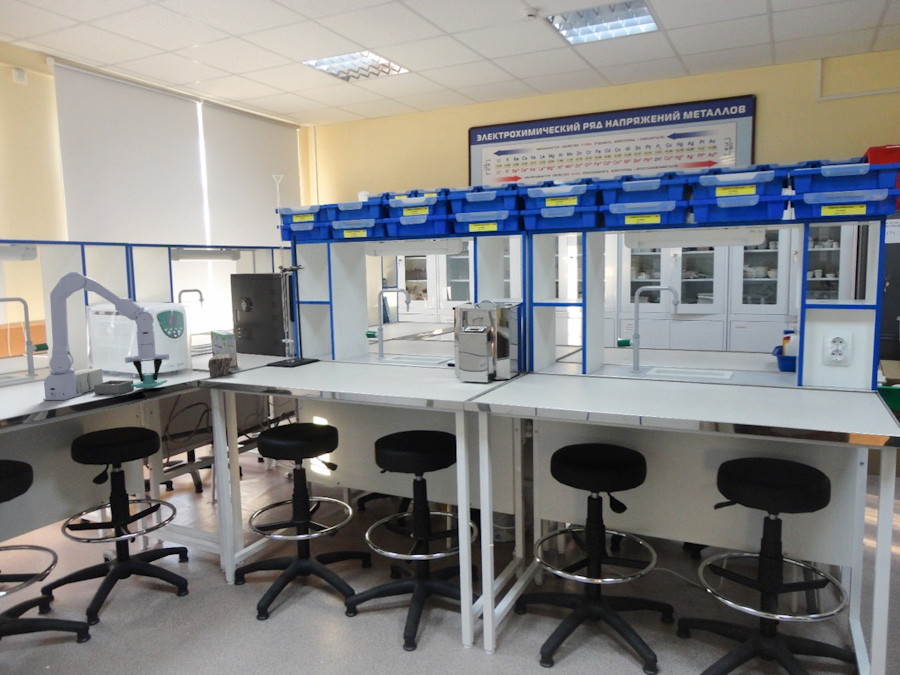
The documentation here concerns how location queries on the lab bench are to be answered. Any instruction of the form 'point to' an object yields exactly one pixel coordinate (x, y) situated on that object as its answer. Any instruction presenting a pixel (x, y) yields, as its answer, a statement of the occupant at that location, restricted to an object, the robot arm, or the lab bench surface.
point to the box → (114, 387)
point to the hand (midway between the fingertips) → (149, 380)
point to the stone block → (219, 364)
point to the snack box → (224, 344)
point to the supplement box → (87, 379)
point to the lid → (148, 382)
